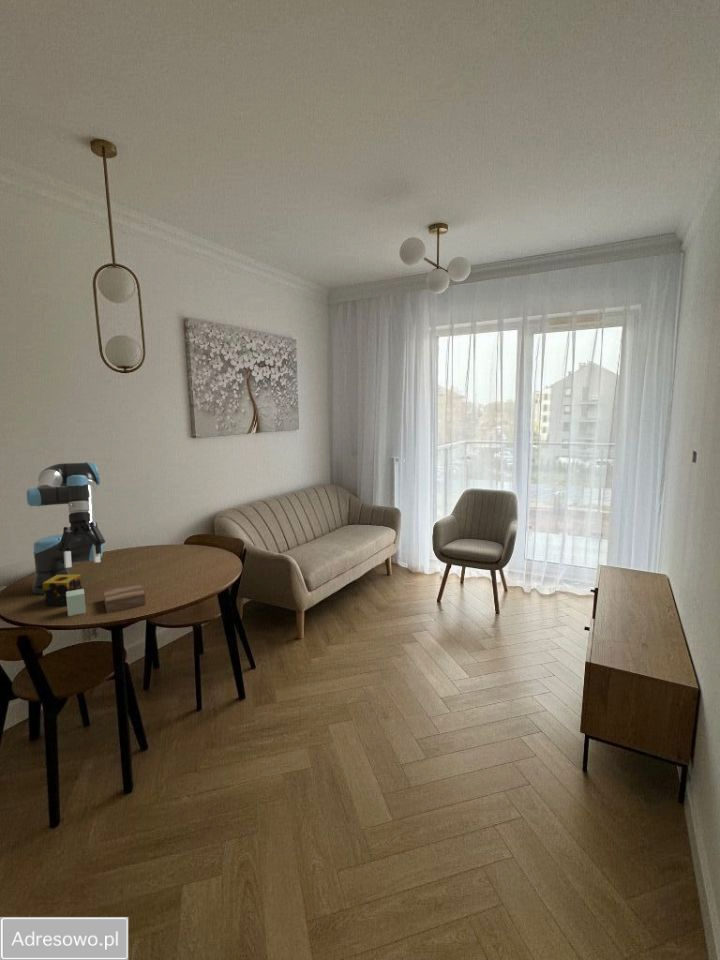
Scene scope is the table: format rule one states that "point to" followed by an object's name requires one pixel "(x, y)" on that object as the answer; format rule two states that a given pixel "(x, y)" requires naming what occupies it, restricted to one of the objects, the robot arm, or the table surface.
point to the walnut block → (124, 597)
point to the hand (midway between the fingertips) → (82, 565)
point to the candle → (60, 588)
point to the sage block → (75, 602)
